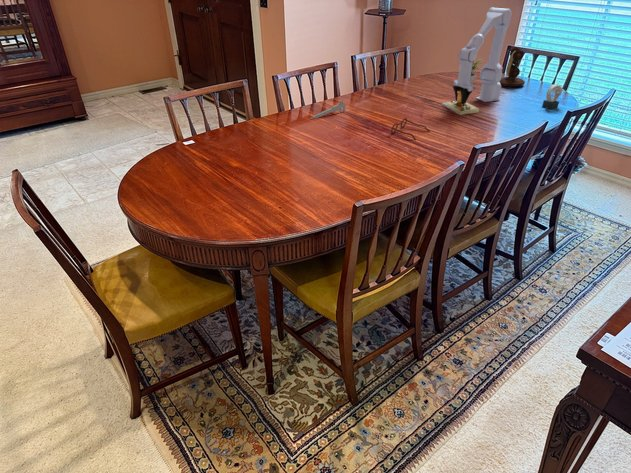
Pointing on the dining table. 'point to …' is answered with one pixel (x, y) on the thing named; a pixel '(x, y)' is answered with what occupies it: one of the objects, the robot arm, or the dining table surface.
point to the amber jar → (459, 99)
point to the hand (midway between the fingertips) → (460, 102)
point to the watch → (552, 102)
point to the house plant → (473, 70)
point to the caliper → (331, 110)
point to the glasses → (404, 125)
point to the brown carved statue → (513, 70)
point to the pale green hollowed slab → (461, 108)
